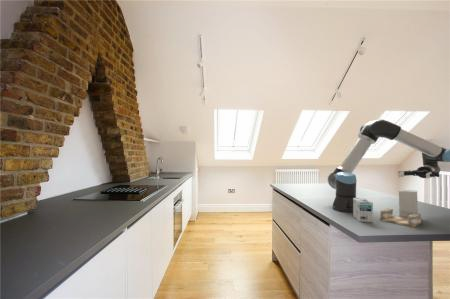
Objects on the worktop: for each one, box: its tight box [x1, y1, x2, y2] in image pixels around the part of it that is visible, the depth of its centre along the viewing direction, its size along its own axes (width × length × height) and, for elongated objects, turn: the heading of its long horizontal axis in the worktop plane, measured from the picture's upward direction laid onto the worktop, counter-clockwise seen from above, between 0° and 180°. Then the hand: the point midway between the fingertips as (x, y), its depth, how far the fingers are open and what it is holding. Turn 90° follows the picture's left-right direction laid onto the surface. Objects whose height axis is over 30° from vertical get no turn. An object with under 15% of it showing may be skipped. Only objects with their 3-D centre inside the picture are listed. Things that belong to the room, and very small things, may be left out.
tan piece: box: [379, 207, 422, 228], centre depth 125 cm, size 15×12×5 cm
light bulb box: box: [352, 197, 374, 223], centre depth 128 cm, size 11×7×11 cm, turn 168°
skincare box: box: [398, 189, 419, 219], centre depth 133 cm, size 8×7×16 cm
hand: (412, 175), depth 138 cm, fingers open, 13 cm apart
